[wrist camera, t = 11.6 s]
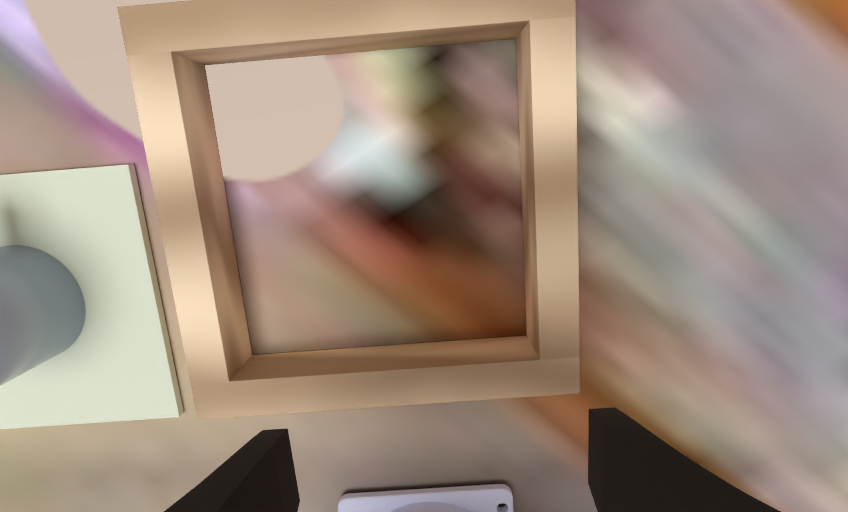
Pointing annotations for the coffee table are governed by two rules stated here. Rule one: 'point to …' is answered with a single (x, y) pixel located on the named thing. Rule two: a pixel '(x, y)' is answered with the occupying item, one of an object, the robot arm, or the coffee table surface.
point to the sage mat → (92, 300)
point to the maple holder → (211, 229)
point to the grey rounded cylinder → (35, 309)
